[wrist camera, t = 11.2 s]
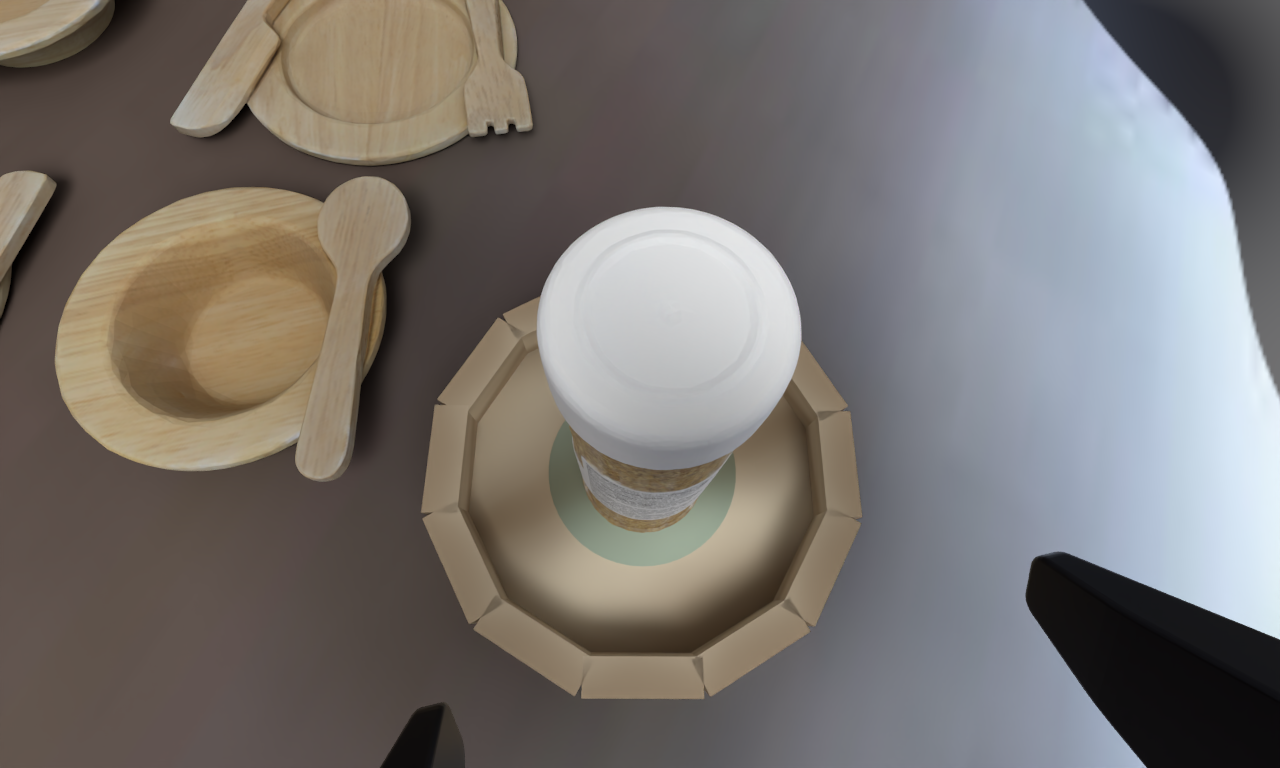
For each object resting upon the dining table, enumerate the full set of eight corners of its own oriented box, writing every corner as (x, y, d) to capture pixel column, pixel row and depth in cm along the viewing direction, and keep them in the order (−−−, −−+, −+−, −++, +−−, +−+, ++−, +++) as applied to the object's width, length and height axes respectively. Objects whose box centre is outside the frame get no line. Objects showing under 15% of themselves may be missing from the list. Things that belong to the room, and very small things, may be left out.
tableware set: (-458, 462, 23) (-677, 434, 19) (-86, -73, 33) (-180, -162, 29) (475, 533, 23) (447, 520, 19) (564, -21, 33) (557, -103, 29)
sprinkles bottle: (611, 397, 24) (601, 161, 11) (721, 442, 23) (842, 249, 11) (561, 506, 22) (482, 379, 10) (677, 557, 22) (757, 493, 9)
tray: (915, 548, 23) (945, 543, 21) (556, 782, 20) (548, 803, 18) (705, 244, 27) (712, 214, 25) (383, 400, 24) (361, 381, 22)
